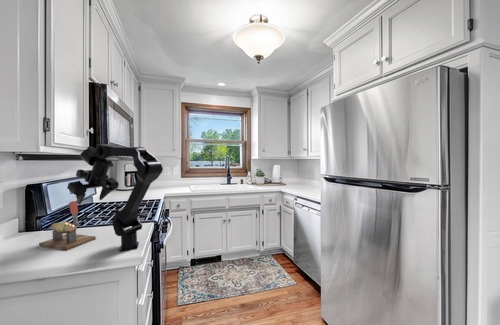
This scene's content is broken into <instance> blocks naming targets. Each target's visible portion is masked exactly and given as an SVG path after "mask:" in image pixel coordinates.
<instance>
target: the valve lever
mask: <svg viewBox="0 0 500 325" xmlns="http://www.w3.org/2000/svg"><path fill="white" fill-rule="evenodd" d="M68 203H69V209H70V214H72V224H73V223H74V225H76V226H77V227H78V226H80V222H79V218H78V213H79V208H78V202H77V200H76V201H75V200H74V201H69V202H68Z"/></svg>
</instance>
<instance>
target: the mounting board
mask: <svg viewBox="0 0 500 325" xmlns="http://www.w3.org/2000/svg"><path fill="white" fill-rule="evenodd" d="M62 235H63V239H62V240H59V241H56V242H55V241H53V238H51V239H47V240H44V241H42V242H39V243H38V244H39V245H38V246H39V247H42V248H49V249H56V250H62V251H69V250H70V251H71V250H72V249H74V248H77V247H79V246H82V245H85V244H87V243H90V242H92V241H95V240H96V236H95V235H87V234H78V233H76V241H75V242H72V243H70V244H69V243H67V241H66V233H65V234H62Z"/></svg>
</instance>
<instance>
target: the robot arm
mask: <svg viewBox="0 0 500 325" xmlns="http://www.w3.org/2000/svg"><path fill="white" fill-rule="evenodd" d="M118 157H125V158H126V157H128V158H129V157H130V158H133V166H134V167H135V169H136V173H135V174H136V179H137V180H136V182H135V184H134V186H133V187H132V190H131V193H130V195H129V197H128V199H127V200H126V203H125V205H124V207H121V208H118V209H116V210H115V213H114V215H113V216H112V218H113V219H112V227H113V231H114V234H115V236H117V237H120V244H121V245H120V247H119V249H118V251H119V252H122V251H128V250H136V249H138V248H139V244H140V242H139V241H138V231H141V230H142V228H143V224H142V222H141V221H140V220H139V213H138V210H139V208H140V206H141V204H142V202H143V199H145V198H144V197H145V196H146V194H147V192H148V190H149V188H150V186H151V184H152V183H153V182H155V181H156V180H157V179H158V178H159V177H160V175H161V174H162V172H163V165H162V162H160V161H159V159H158V158H157V157H156V156H155V155H153V154H152V153H151V152H149V151H148V149H147V148H145V147H144V146H134V147H124V146H119V145H116V144H107V143H105V144H102V143H101V144H96V147H94V146H87V148H86V149H84V150H83V151H82V152H81V153H80V159H82V160H83V162H85V163H86V164H87V165H89V166H91V167H92V169H88V170H84V169H77V170H76V175H75V176H76V177H77V178H79V179H83V180H84V182H86V183H83V182H81V181H72V182H68V184H67V188H66V189H67V190H68V191H69V192H71V193H72V194H73V195H75V196H76V201H77V205H79V206H80V205H81V204H82V203H83V201H84V198H85V196H86V192H88V191H87V190H90V189H97V188H101V190H100V195H99V197H98V198H99V201H102V200H104V199H105V197H107V196H108V195H109V194H110V193H111V192H113V191H115V189H118V187H119V186H120V185H119V181H117V180H116V179H115V178H113V177H109V175H108V172H109V169H110V168H112V167H113V168H114V163H113V162H112V160H111V158H113V159H115V158H118ZM141 158H142V159H143V160H144V161H142V160H141ZM109 159H110V160H109Z"/></svg>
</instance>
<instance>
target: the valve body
mask: <svg viewBox="0 0 500 325" xmlns="http://www.w3.org/2000/svg"><path fill="white" fill-rule="evenodd" d="M50 229H51V230H52V231H51V232H52V234H51V235H52V239H53V241H55V242H56V241H59V240H62V239H63V235H65V234H66V241H67V243H69V244H70V243H72V242H75V241H76V234H77V229H78V226H76V225H74V223H73V222H72V223H71V222H69V221H61V222H55V223H52V224H51V225H50Z"/></svg>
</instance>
